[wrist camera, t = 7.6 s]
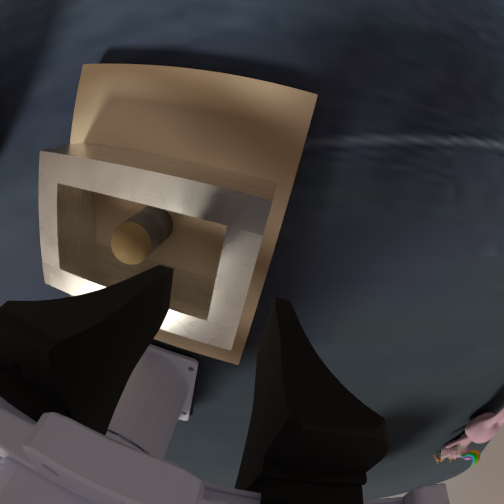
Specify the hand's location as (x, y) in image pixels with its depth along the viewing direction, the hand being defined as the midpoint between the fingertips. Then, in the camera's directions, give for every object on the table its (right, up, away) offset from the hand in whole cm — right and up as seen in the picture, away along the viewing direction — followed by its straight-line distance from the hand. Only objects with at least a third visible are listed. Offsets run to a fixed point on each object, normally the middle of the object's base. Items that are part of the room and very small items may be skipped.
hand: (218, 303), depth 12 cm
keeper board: (-4, +4, +7) cm, 9 cm away
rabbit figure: (+28, -18, +12) cm, 35 cm away
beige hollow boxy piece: (-4, +4, +5) cm, 8 cm away
